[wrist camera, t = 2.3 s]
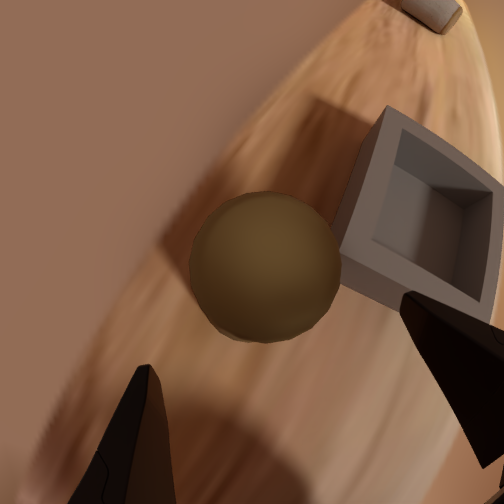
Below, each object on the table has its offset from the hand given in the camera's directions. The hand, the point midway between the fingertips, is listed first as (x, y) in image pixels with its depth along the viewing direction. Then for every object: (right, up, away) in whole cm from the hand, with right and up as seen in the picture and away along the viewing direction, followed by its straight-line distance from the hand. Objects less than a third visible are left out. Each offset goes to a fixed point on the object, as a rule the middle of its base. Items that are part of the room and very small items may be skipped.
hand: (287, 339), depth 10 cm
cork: (-1, 0, +10) cm, 10 cm away
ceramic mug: (+26, +40, +22) cm, 53 cm away
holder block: (+11, +4, +12) cm, 17 cm away
